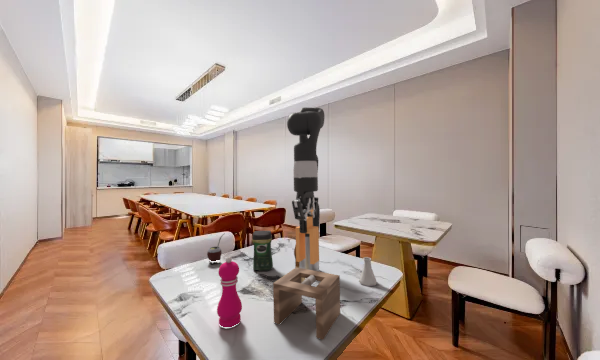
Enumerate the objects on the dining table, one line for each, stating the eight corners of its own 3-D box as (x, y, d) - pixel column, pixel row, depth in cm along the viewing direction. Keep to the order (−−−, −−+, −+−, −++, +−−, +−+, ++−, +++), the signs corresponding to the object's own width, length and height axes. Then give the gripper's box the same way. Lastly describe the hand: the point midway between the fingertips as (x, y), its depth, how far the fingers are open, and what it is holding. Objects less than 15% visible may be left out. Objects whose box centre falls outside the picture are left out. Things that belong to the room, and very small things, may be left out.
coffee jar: (273, 265, 116) (272, 228, 116) (272, 271, 108) (271, 232, 108) (254, 265, 116) (253, 229, 116) (251, 272, 108) (250, 232, 108)
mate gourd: (204, 265, 119) (204, 236, 119) (213, 259, 126) (212, 232, 126) (218, 265, 117) (217, 236, 117) (225, 260, 125) (225, 232, 125)
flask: (378, 287, 90) (377, 261, 90) (359, 285, 92) (358, 261, 92) (376, 279, 97) (375, 256, 97) (358, 278, 99) (358, 255, 99)
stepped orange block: (296, 261, 71) (295, 217, 71) (302, 257, 74) (301, 215, 74) (313, 264, 68) (312, 219, 68) (319, 260, 71) (318, 217, 71)
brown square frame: (273, 323, 69) (273, 283, 69) (296, 301, 81) (296, 267, 81) (323, 339, 61) (322, 294, 61) (340, 312, 73) (339, 275, 73)
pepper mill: (220, 316, 73) (219, 253, 73) (244, 315, 73) (242, 252, 73) (214, 331, 65) (212, 261, 65) (240, 329, 66) (238, 260, 66)
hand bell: (285, 280, 98) (284, 243, 98) (302, 277, 101) (302, 241, 101) (292, 289, 90) (291, 248, 90) (311, 284, 94) (310, 245, 94)
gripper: (305, 176, 79) (306, 226, 79) (283, 176, 67) (284, 235, 67) (325, 176, 76) (326, 228, 76) (305, 175, 63) (307, 237, 63)
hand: (306, 231), depth 71 cm, fingers closed on stepped orange block, 4 cm apart
